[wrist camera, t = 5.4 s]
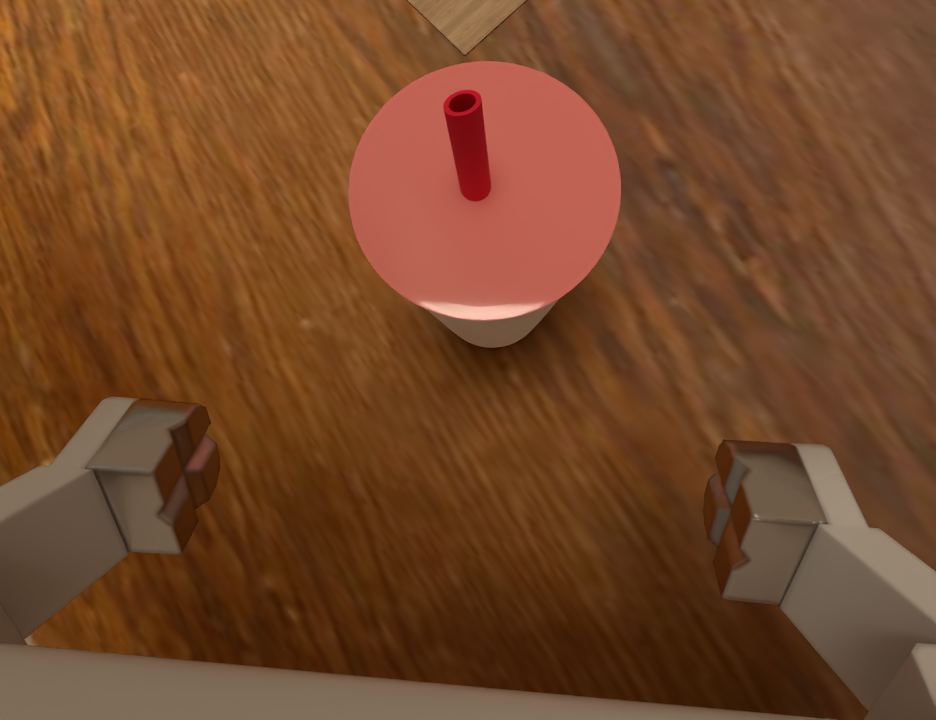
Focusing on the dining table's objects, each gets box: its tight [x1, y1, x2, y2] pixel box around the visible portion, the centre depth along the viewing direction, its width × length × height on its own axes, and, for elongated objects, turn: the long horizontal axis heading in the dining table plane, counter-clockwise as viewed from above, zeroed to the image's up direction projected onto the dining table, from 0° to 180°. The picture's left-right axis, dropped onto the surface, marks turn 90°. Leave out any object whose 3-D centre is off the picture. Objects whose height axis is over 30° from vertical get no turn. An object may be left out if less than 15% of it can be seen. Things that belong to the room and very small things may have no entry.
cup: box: [348, 61, 621, 348], centre depth 17 cm, size 5×5×12 cm
